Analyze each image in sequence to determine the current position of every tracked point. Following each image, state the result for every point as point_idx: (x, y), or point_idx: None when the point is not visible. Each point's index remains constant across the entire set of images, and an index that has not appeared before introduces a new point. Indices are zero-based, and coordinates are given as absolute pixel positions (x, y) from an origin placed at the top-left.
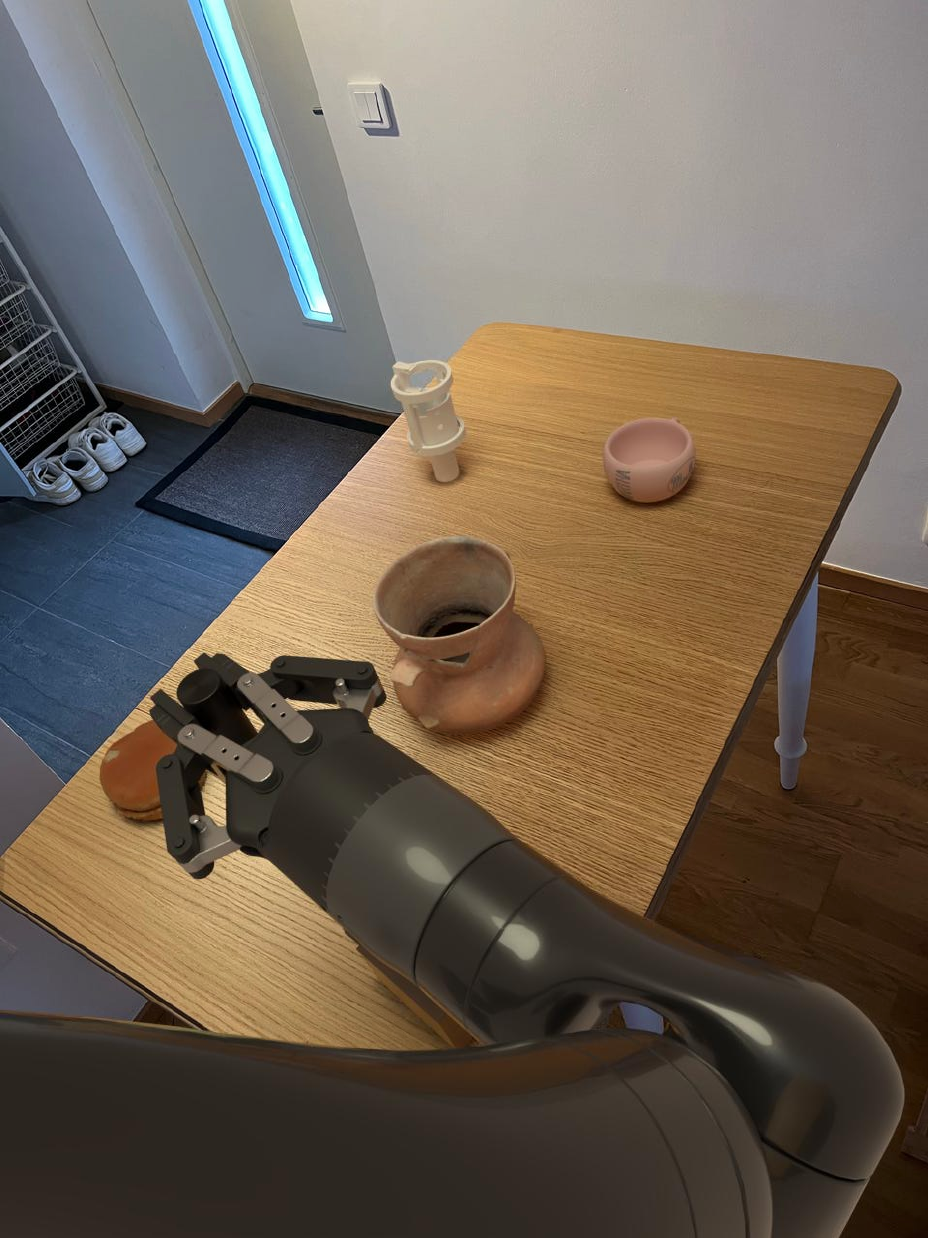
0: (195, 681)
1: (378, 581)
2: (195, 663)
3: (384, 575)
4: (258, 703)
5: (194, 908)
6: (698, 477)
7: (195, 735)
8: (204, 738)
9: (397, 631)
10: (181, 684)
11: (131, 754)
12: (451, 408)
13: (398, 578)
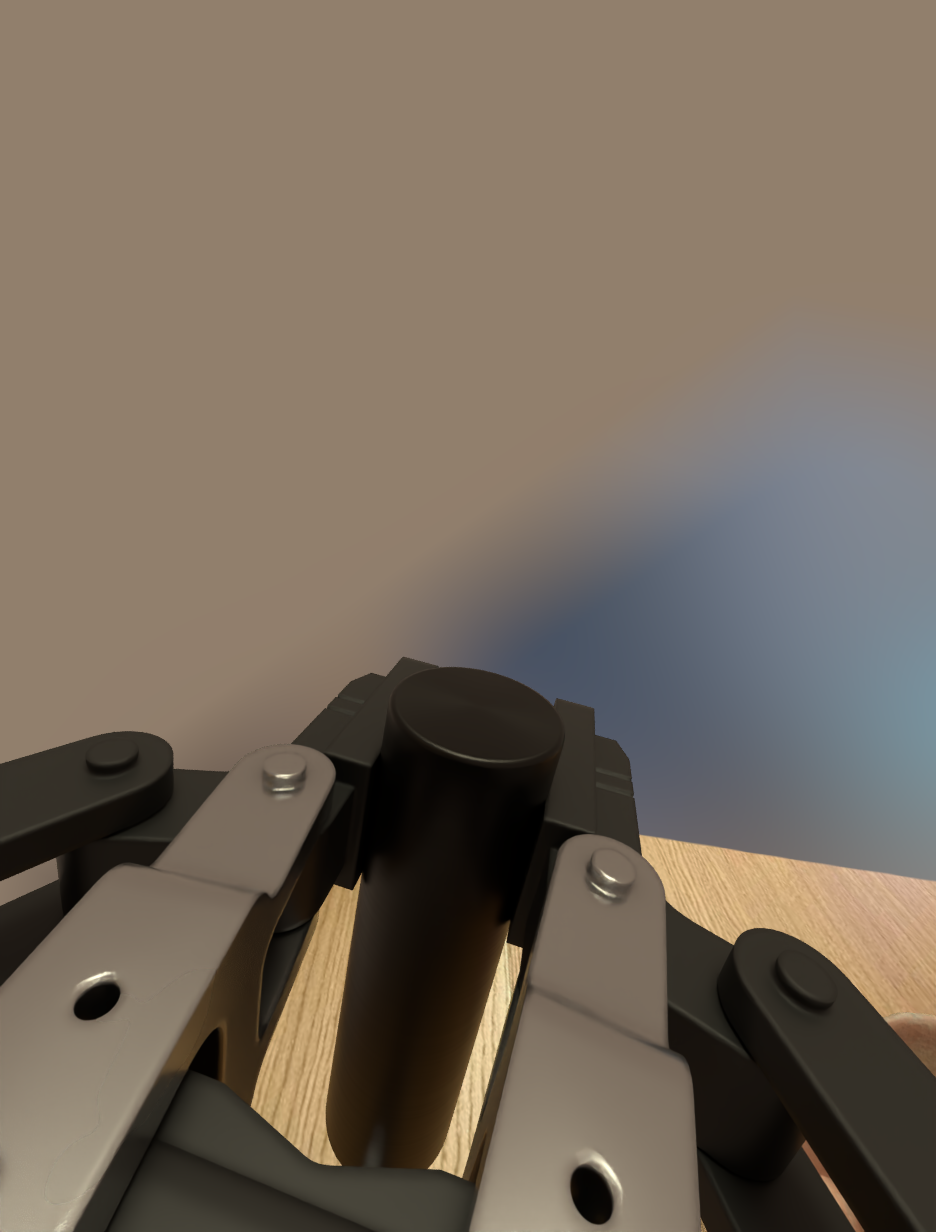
0: (490, 697)
1: (900, 1016)
2: None
3: (917, 1020)
4: (539, 1024)
5: (293, 1013)
6: None
7: (275, 798)
8: (262, 839)
9: None
10: (459, 670)
11: None
12: None
13: (931, 1050)
